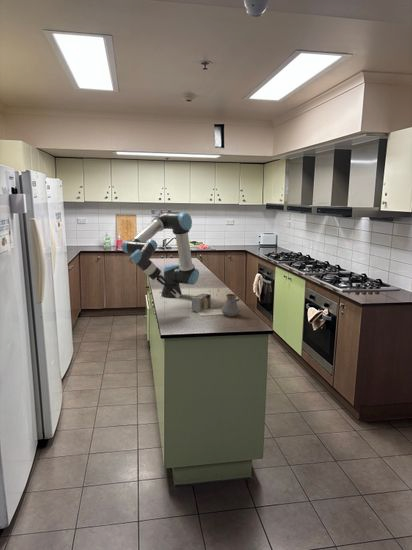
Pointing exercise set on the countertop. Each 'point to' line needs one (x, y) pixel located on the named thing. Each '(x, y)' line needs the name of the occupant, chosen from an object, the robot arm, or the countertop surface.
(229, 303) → the coffee pot
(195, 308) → the coffee box
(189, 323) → the countertop surface
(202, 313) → the mat
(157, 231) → the robot arm
